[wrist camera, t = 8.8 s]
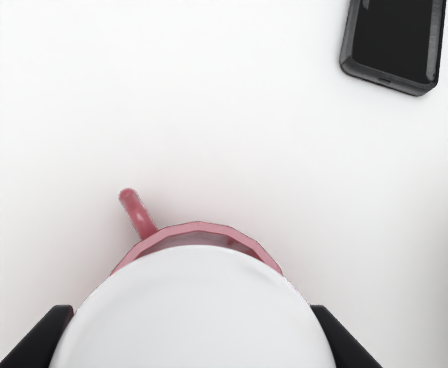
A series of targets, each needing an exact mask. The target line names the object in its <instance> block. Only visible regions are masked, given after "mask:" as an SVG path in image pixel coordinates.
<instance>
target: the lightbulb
mask: <svg viewBox="0 0 448 368" xmlns="http://www.w3.org/2000/svg"><path fill="white" fill-rule="evenodd" d="M48 368H336V364H335V360H334V357H333V354H332V351H331V348H330V345H329V342H328V340H327V337H326V335H325V333H324V331H323V329H322V327H321V325H320V323H319V321H318V319H317V317H316V316H315V314H314V312H313V311H312V309H311V308H310V306H309V305H308V304H307V302H306V301H305V299H304V298H303V297H302V296H301V294H300V293H299V292H298V291H297V290H296V289H295V288H294V287H293V286H292V285H291V284H290V283H289V282H288V281H287V280H286V279H285V278H284V277H283V276H282V275H280V274H279V273H278V272H277V271H275V270H274V269H272V268H271V267H269V266H268V265H266V264H265V263H263V262H261V261H260V260H258V259H256V258H254V257H251V256H249V255H247V254H244V253H242V252H239V251H236V250H233V249H229V248H224V247H219V246H212V245H182V246H175V247H170V248H166V249H162V250H159V251H156V252H153V253H150V254H147V255H145V256H143V257H140V258H138V259H136V260H134V261H132V262H131V263H129V264H127V265H125V266H124V267H122V268H121V269H119V270H118V271H116V272H115V273H113V274H112V275H111V276H110V277H108V278H107V279H106V280H105V281H103V282H102V283H101V284H100V285H99V286H98V287H97V288H96V289H95V290H94V291H93V292H92V293H91V294H90V295H89V296H88V297H87V299H86V300H85V301H84V302H83V303H82V305H81V306H80V307H79V309H78V310H77V311H76V313H75V314H74V316H73V317H72V318H71V320H70V322H69V323H68V325H67V327H66V328H65V330H64V332H63V334H62V336H61V338H60V340H59V342H58V344H57V346H56V348H55V351H54V353H53V356H52V358H51V361H50V364H49V367H48Z"/></svg>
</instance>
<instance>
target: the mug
mask: <svg viewBox="0 0 448 368" xmlns="http://www.w3.org/2000/svg"><path fill="white" fill-rule="evenodd" d="M119 201H120V203H121V205H122V207H123V208H124V210H125V212H126V214H127V215H128V217H129V219H130V221H131V222H132V224H133V226H134V228H135V229H136V231H137V233H138V235H139V236H140V238H141V240H142V241H141V242H139V243H137V244H136V245H135V246H133V248H132V249H131V250H130V251H129V252H128V253H127V255H126V256H125V257H124V258H123V259H122V260H121V262H120V263H119V264H118V265H117V266H116V267H115V269H114V270H113V271H112V273H111V274H110V276H111V275H112V274H113V273H115V272H116V271H118V270H119V269H121V268H122V267H124V266H125V265H127V264H129V263H131V262H132V261H134V260H136V259H138V258H140V257H143V256H145V255H147V254H150V253H153V252H156V251H159V250H162V249H166V248H170V247H175V246H182V245H212V246H219V247H224V248H229V249H233V250H236V251H239V252H242V253H244V254H247V255H249V256H251V257H254V258H256V259H258V260H260V261H261V262H263V263H265V264H266V265H268V266H269V267H271V268H272V269H274V270H275V271H277V272H278V273H279V274H280V275H282V276H283V274H282V272H281V269H280V267H279V266H278V264H277V263H276V262H275V261H274V260H273V259H272V258H271V256H270V255H269V254H268V253H267V252H266V251H265V250H264V248H263V247H262V246H261V245H260V244H259V243H257V241H255V240H253V239H251V238H250V237H248V236H246V235H244V234H243V233H241V232H239V231H237V230H235V229H234V228H232V227H229V226H225V225H219V224H213V223H206V222H200V221H198V222H197V221H196V222H190V223H185V224H180V225H174V226H169V227H166V228H163V229H161V230H159V231H158V229H157V227H156V225H155V224H154V222H153V220H152V218H151V217H150V215H149V213H148V212H147V210H146V208H145V206H144V205H143V203H142V201H141V199H140V198H139V196H138V194H137V193H136V191H135V190H133V189H131V188H125V189H123V190H122V191H121V192H120V193H119ZM110 276H109V277H110ZM283 277H284V276H283Z"/></svg>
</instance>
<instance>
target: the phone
mask: <svg viewBox="0 0 448 368" xmlns="http://www.w3.org/2000/svg"><path fill="white" fill-rule="evenodd" d="M445 9H446V0H351V2H350V8H349V13H348V18H347V24H346V29H345V35H344V40H343V45H342V51H341V56H340V64H341V67H342V69H343V70H344V71H345V72H346V73H347V74H349V75H351V76H354V77H358V78H361V79H364V80H367V81H370V82H373V83H376V84H380V85H383V86H386V87H389V88H392V89H395V90H398V91H401V92H405V93H408V94H411V95H414V96H422V95H424V94H425V93H427V92H428V91H430V90H431V89H433V88H434V87H435V86H436V85H437V83H438V78H439V68H440V58H441V49H442V39H443V29H444V19H445Z"/></svg>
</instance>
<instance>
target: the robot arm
mask: <svg viewBox="0 0 448 368" xmlns="http://www.w3.org/2000/svg"><path fill="white" fill-rule="evenodd" d="M310 308H311V309H312V311H313V312H314V314H315V316H316V317H317V319H318V321H319V323H320V325H321V327H322V329H323V331H324V333H325V335H326V337H327V340H328V342H329V345H330V348H331V351H332V354H333V357H334V360H335V364H336V368H382V366H381V365H380V364H379V363H378V362H377V361H376V360H375V359H374V358H373V357H372V356H371V355H370V354H369V353H368V352H367V351H366V350H365V349H364V348H363V346H362V345H361V344H360V343H359V342H358V341H357V340H356V339H355V338H354V337H353V336H352V335H351V334H350V333H349V332H348V331H347V330H346V329H345V328H344V326H343V325H342V324H341V323H340V322H339V321H338V320H337V319H336V318H335V317H334V316H333V315H332V314H331V313H330V312H329V311H328V310H327V309H326V308H325V307H324V306H322V305H310ZM73 316H74V312H73V308H72V306H71V305H56V306H54V307H53V308H52V309H51V310H50V311H49V312H48V313H47V314H46V315H45V316H44V317H43V318H42V319H41V320H40V321H39V322H38V323H37V324H36V325H35V326H34V327H33V329H32V330H31V331H30V332H29V333H28V334H27V335H26V336H25V337H24V338H23V339H22V340H21V341H20V342H19V343H18V344H17V345H16V346H15V348H14V349H13V350H12V351H11V352H10V353H9V354H8V355H7V356H6V357H5V358H4V359H3V360H2V361H1V362H0V368H48V367H49V364H50V361H51V358H52V356H53V353H54V351H55V348H56V346H57V344H58V342H59V340H60V338H61V336H62V334H63V332H64V330H65V328H66V327H67V325H68V323H69V322H70V320H71V318H72V317H73Z"/></svg>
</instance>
